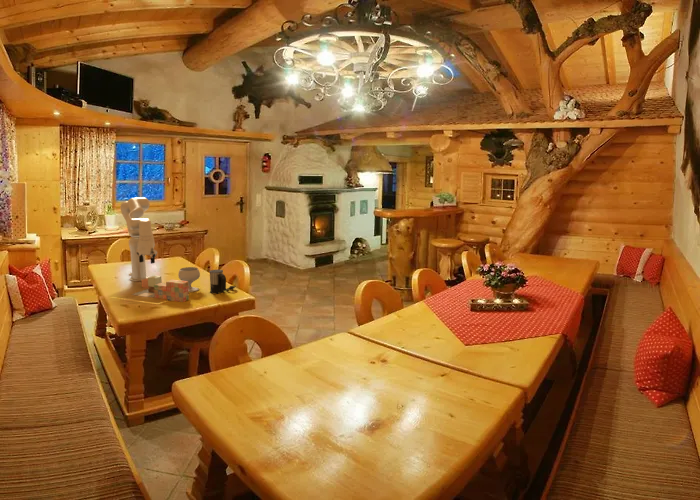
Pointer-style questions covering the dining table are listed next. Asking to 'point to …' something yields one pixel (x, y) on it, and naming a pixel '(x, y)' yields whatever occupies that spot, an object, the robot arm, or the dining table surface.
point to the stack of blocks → (172, 290)
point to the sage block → (154, 280)
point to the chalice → (189, 276)
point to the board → (145, 293)
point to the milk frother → (218, 282)
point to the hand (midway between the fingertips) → (147, 262)
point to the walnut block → (151, 289)
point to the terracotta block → (145, 283)
